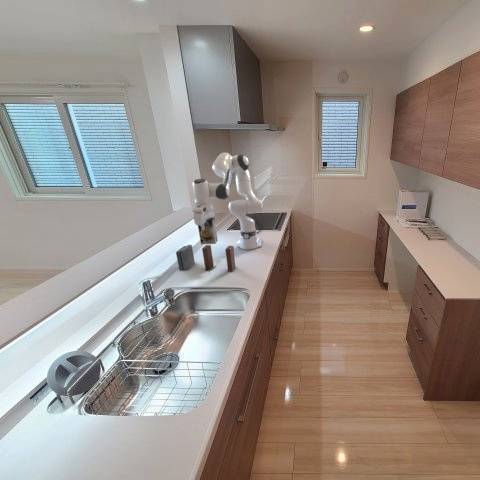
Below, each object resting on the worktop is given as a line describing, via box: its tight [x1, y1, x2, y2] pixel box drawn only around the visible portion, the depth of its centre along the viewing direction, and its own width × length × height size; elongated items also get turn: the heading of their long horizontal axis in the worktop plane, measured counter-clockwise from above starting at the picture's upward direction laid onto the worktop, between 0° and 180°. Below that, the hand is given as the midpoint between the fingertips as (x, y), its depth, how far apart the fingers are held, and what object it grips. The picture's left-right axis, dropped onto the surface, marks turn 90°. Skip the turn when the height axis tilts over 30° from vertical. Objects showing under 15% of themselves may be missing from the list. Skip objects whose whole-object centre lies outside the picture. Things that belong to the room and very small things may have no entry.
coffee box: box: [197, 217, 219, 245], centre depth 158 cm, size 9×6×16 cm
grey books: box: [175, 244, 196, 271], centre depth 166 cm, size 10×6×14 cm, turn 179°
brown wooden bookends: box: [201, 244, 236, 272], centre depth 163 cm, size 6×18×16 cm, turn 89°
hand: (206, 227), depth 157 cm, fingers closed on coffee box, 7 cm apart
